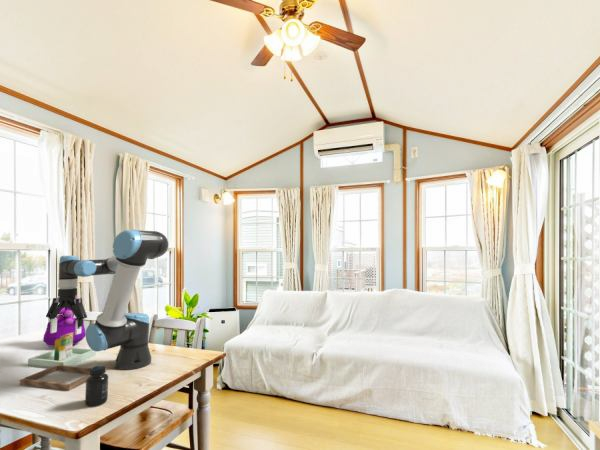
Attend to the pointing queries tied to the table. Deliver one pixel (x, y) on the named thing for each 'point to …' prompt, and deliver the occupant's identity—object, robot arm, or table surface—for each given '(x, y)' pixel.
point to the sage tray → (49, 361)
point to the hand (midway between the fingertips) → (65, 333)
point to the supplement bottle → (96, 387)
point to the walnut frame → (56, 385)
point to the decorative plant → (64, 328)
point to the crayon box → (63, 347)
